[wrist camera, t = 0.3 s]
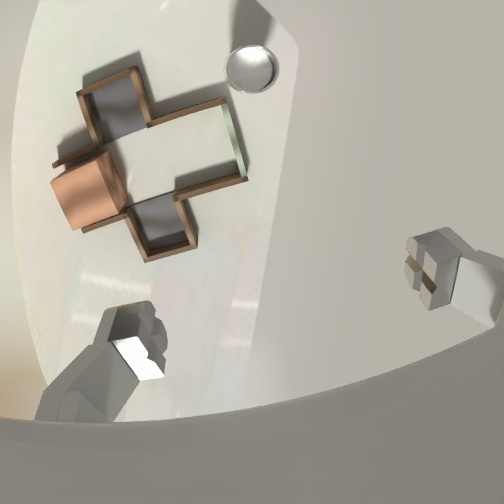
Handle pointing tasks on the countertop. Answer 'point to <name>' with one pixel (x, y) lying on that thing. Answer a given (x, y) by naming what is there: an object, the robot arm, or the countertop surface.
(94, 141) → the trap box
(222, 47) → the countertop surface
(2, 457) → the robot arm
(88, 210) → the terracotta block
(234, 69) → the beer glass
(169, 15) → the countertop surface
